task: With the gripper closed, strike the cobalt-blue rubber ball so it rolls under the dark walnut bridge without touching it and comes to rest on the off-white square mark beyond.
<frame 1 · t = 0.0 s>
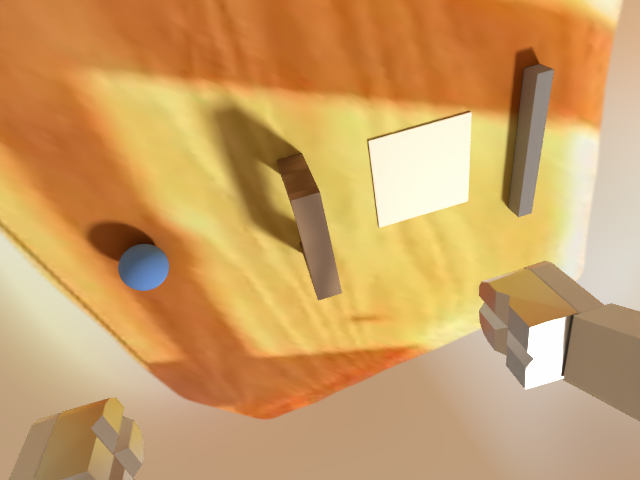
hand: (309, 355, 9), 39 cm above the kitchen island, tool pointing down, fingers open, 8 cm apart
ball: (144, 267, 50), on the kitchen island
bridge: (302, 207, 53), on the kitchen island
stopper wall: (522, 143, 55), on the kitchen island
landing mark: (421, 172, 55), on the kitchen island
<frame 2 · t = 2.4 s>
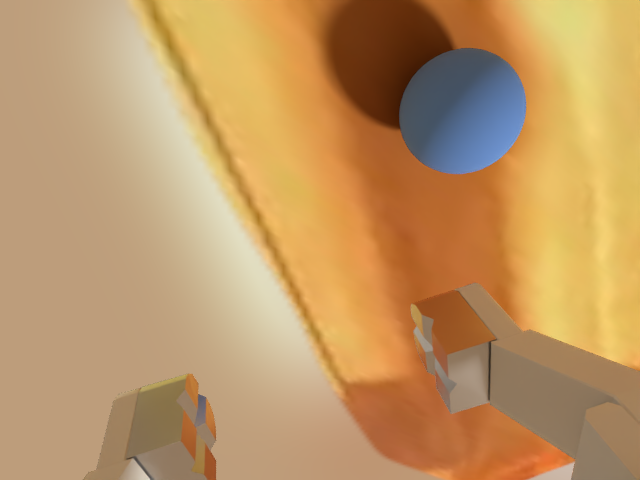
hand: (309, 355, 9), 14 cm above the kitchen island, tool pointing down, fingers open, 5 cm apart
ball: (459, 113, 20), on the kitchen island
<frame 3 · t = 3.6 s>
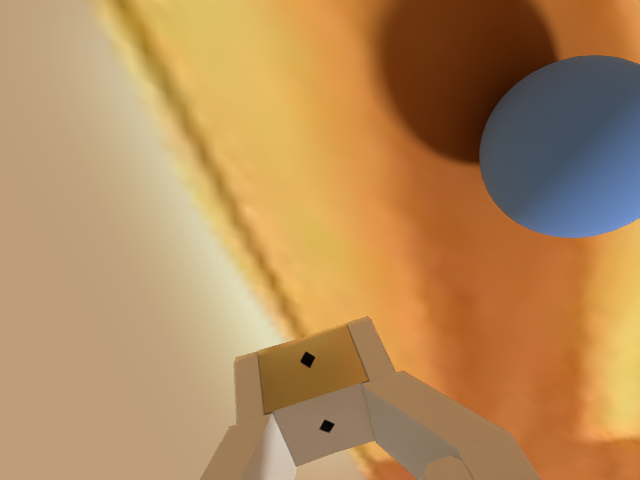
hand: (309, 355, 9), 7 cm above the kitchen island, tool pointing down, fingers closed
ball: (572, 150, 13), on the kitchen island
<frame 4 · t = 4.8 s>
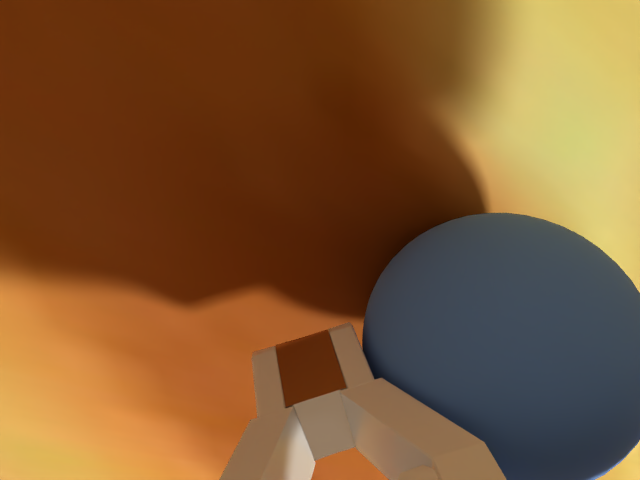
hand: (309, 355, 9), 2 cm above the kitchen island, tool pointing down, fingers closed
ball: (493, 343, 9), on the kitchen island, touching gripper
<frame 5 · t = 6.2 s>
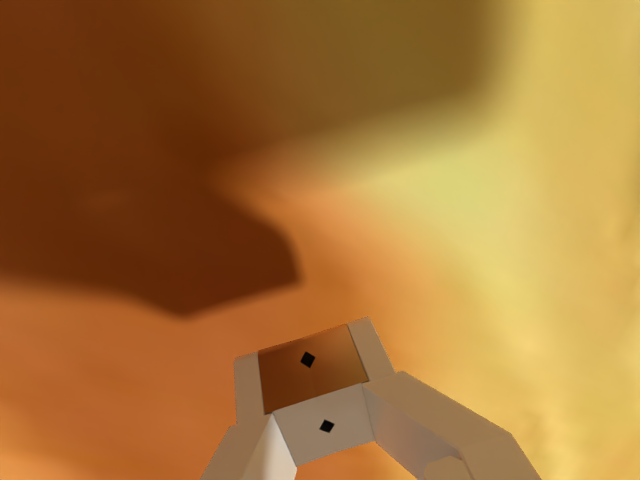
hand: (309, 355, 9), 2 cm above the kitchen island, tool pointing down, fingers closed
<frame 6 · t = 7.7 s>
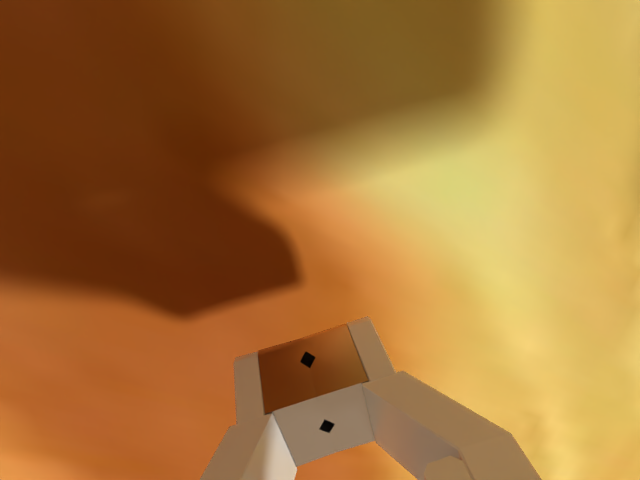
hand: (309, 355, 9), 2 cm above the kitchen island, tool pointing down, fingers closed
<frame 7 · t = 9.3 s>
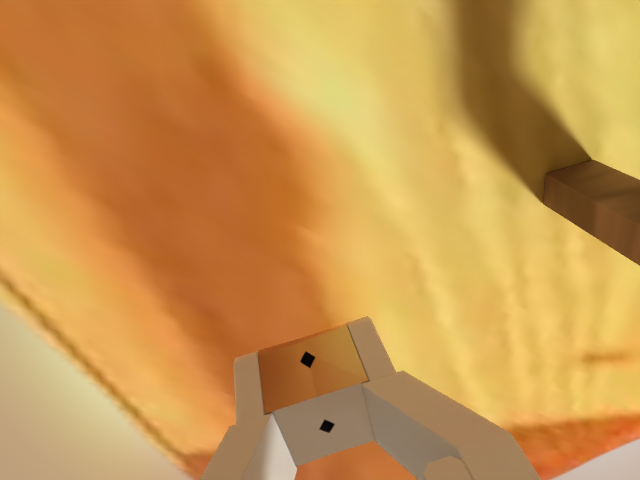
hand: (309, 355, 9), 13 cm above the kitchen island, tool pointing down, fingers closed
bridge: (579, 73, 22), on the kitchen island
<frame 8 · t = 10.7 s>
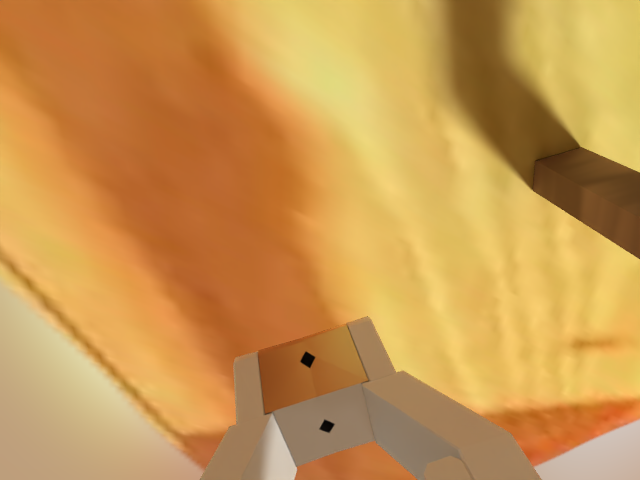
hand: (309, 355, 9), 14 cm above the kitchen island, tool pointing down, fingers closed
bridge: (568, 61, 22), on the kitchen island
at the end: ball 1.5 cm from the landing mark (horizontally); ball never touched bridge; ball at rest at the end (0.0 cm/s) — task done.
